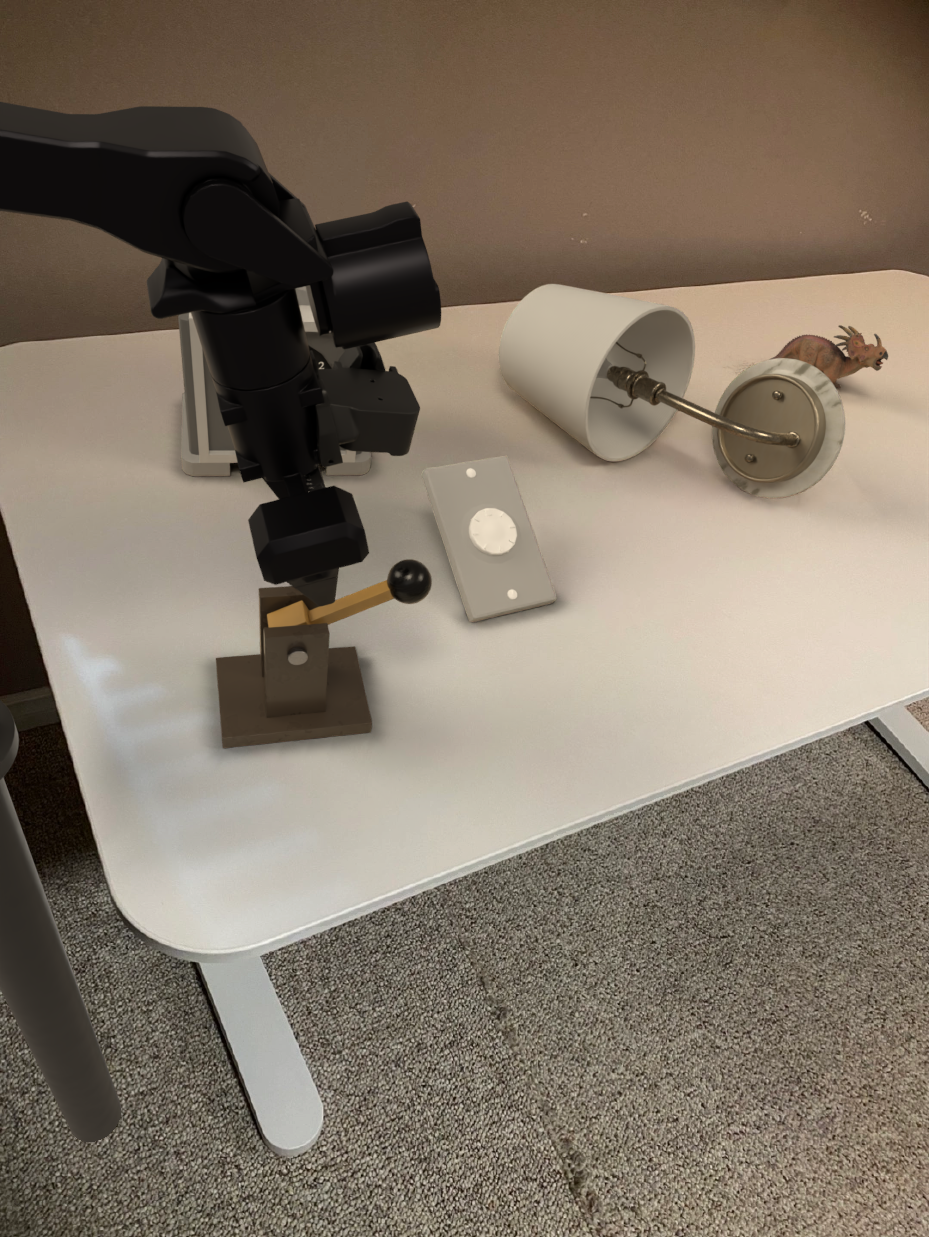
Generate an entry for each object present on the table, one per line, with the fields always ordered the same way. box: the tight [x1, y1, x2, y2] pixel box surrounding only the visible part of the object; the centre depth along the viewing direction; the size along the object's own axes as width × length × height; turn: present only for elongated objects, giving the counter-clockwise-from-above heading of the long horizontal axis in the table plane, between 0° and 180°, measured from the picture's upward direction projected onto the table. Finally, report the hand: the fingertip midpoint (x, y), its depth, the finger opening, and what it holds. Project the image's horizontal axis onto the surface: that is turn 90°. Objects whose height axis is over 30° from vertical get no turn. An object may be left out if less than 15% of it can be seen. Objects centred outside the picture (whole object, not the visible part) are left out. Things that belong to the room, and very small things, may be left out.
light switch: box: [420, 455, 558, 623], centre depth 85 cm, size 8×6×14 cm
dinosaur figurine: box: [768, 324, 889, 389], centre depth 117 cm, size 14×6×9 cm, turn 75°
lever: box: [267, 558, 433, 627], centre depth 66 cm, size 12×3×3 cm, turn 104°
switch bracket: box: [215, 585, 373, 749], centre depth 69 cm, size 11×8×10 cm
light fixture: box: [497, 283, 846, 500], centre depth 97 cm, size 17×19×34 cm
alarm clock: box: [177, 286, 372, 477], centre depth 90 cm, size 18×13×18 cm
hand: (313, 557), depth 64 cm, fingers open, 9 cm apart
